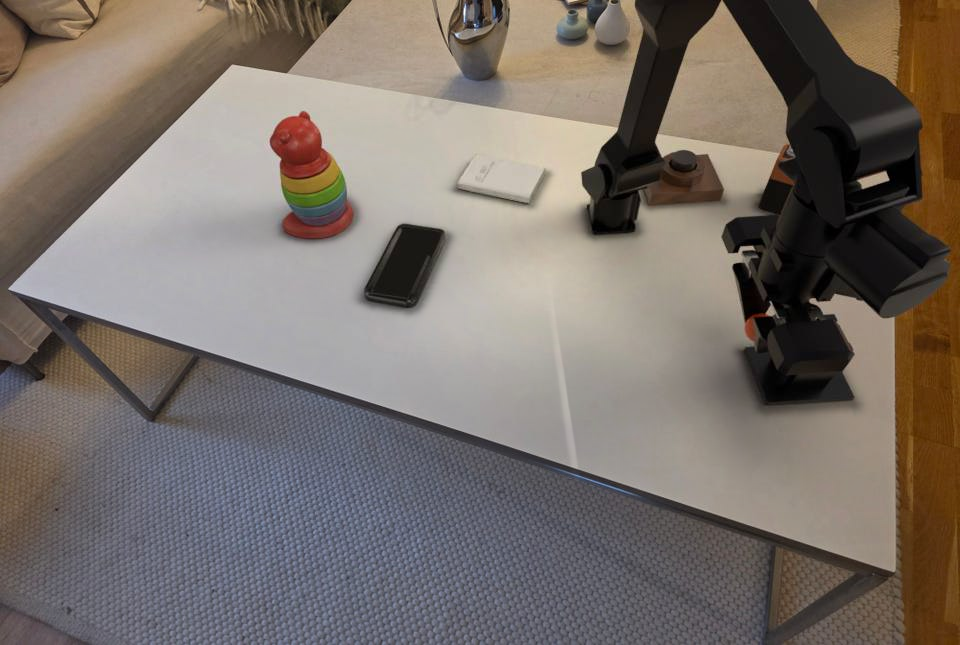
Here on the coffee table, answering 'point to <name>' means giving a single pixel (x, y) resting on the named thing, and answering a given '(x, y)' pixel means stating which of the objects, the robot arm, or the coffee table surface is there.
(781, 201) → the battery
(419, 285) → the phone
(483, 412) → the coffee table surface
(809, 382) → the switch bracket
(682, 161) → the button
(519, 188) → the hard drive
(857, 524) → the coffee table surface
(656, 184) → the button block
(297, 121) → the stacking bear
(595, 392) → the coffee table surface
